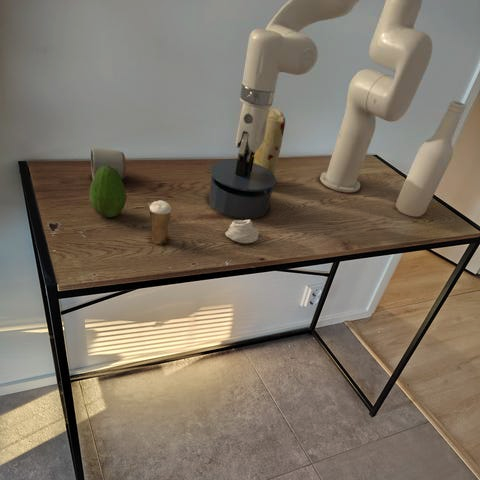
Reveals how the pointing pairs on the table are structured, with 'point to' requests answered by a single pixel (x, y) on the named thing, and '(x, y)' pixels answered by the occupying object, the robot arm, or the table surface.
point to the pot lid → (254, 182)
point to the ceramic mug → (108, 160)
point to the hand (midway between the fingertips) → (243, 172)
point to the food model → (271, 141)
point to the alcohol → (430, 165)
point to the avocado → (107, 192)
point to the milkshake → (159, 220)
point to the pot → (238, 201)
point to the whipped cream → (242, 231)
